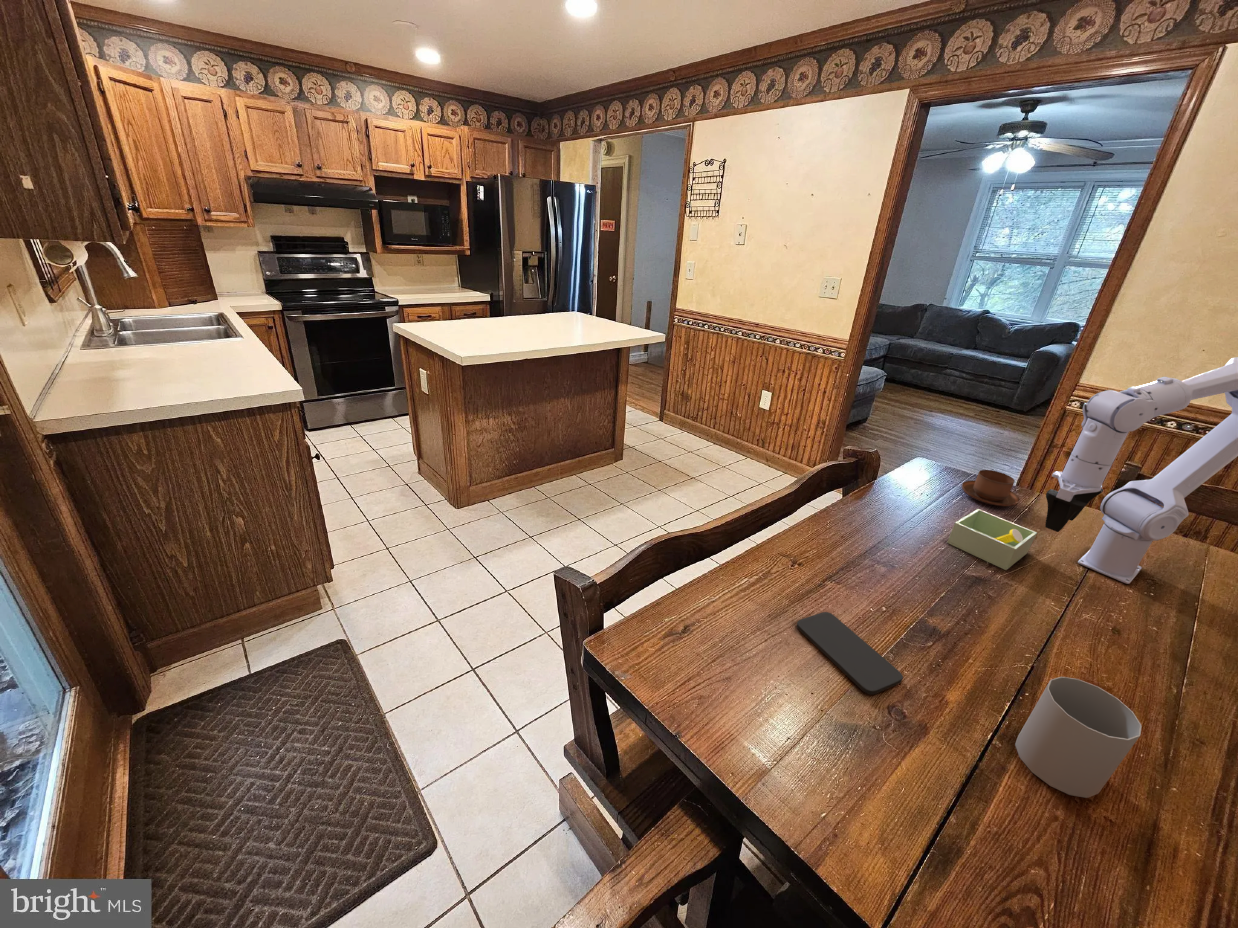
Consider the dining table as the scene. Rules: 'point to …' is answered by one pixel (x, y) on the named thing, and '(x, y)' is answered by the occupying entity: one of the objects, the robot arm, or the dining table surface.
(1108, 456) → the robot arm
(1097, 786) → the cup
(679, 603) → the dining table surface
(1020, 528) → the bin
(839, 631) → the phone
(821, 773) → the dining table surface
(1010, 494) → the cup and saucer
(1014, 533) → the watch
